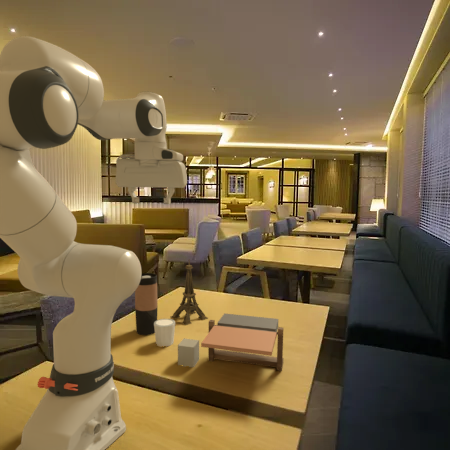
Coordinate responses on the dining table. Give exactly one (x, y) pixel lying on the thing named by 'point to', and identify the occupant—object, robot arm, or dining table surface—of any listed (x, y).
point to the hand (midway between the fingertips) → (151, 203)
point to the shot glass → (164, 332)
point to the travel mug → (146, 304)
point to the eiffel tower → (188, 301)
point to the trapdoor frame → (249, 357)
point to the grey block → (188, 352)
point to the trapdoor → (243, 334)
